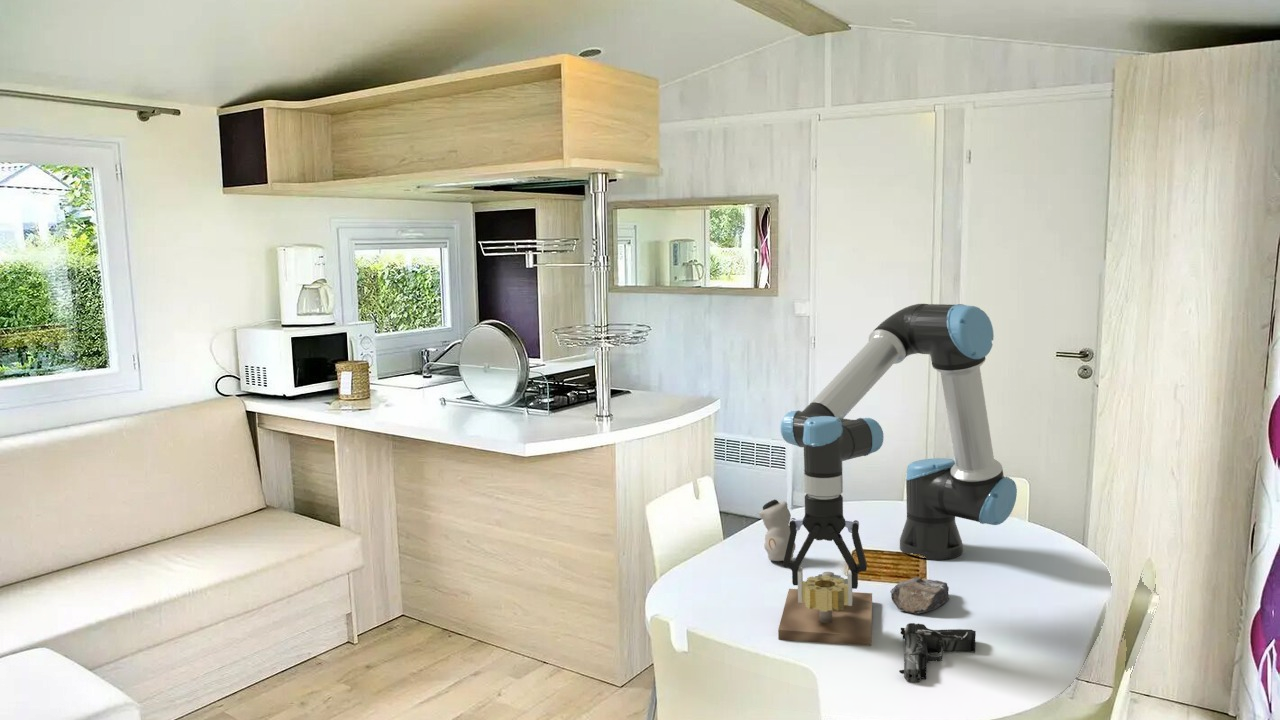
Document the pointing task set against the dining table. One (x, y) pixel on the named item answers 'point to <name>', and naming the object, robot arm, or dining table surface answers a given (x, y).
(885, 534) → the dining table surface
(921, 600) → the rock
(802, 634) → the board
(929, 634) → the handgun
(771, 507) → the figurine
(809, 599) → the brass gear
